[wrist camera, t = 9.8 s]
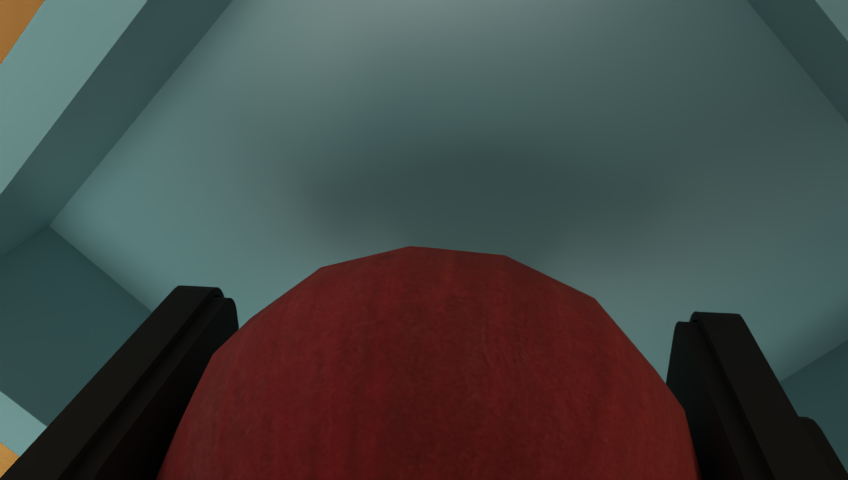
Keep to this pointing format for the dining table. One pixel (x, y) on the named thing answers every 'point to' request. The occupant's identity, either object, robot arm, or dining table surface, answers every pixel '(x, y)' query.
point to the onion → (431, 382)
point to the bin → (425, 166)
